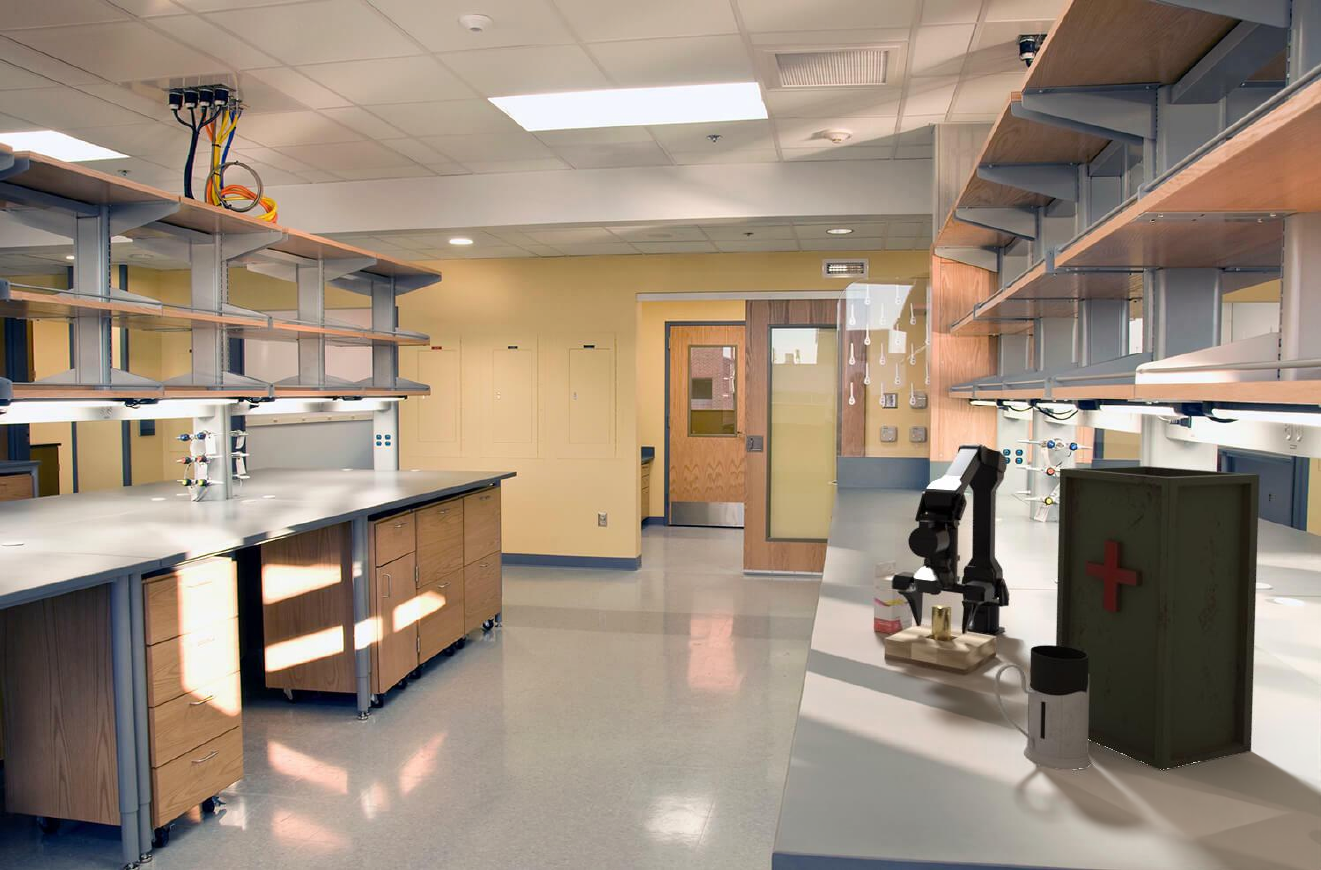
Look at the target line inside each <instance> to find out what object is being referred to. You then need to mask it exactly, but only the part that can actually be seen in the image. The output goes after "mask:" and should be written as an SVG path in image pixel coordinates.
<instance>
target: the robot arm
mask: <svg viewBox="0 0 1321 870" xmlns="http://www.w3.org/2000/svg"><path fill="white" fill-rule="evenodd" d="M1007 461H1008V460H1007V458H1006V456H1005V455H1004V454H1003V453H1002V452H1001V451H1000V450H995V449H993V448H992V449H991V448H989V447H987V446H986V445H983V444H979V443H978V444H975V443H963V444H960V445H959V446H958V450H957V454H956V456H955V457H954V459H953V461H952V462H951V464H950V465H949V467H948V469H947V470H946V472H945V473H944V475H943V476H942V478H939V479H936V480H933V481H931V483H930V484H929V485H928V486H927V487H926V488H925V490H924V491H923V492H922V494H921V497H920V500H919V505H918V508H917V511H916V515H915V518H914V519H915V520H914V521H915V522H918V527H916V528H914V529H913V530H912V531H911V532H910V535H909V537H908V539H907V540H908V541H907V542H908V546H909V550H911V552H912V554H914V555H915V556H917V557H920V558H924V559H923V564H922V567H920V568H919V569H918V570H917V571H916V572H909V571H903V572H899V573H895V574H896V575H895V576H894V577H893V578H892V589H896V590H899V591H898V593H899V594H902V595H903V596H904V597H905V598H906V599H907V601H908V603H909V605H910V608H911V610H912V617H913V619H914V622H915V625H917V626H921V624H922V619H923V603H924V601H923V597H924V594H929V595H931V596H938V595H940V594H941V593H942V592H946V593H947V592H949V593H954V594H960V595H962V600H961V605H962V610H963V611H962V620H961V631H962V634H966V632H973V633H979V634H985V635H991V636H996V635H998V634H1000V633H1001V632H1003V631H1005V629H1006V627H1004V626H1000V613H1001V611H1000V610H1001V609H1000V607H1001V608H1002V607H1009V606H1010V592H1009V590H1008V585H1007V583H1006V581H1005V580H1006V579H1004V577H1003V576H1004V573H1003V568H1002V566H1001V565H1000V563H999V561H998V560H997V558H996V506H997V505H996V501H997V497H996V493H997V492H996V491H997V490H998V488H999V487H1000V485H1001V484H1002V482H1003V481H1004V479H1005V472H1006V470H1007V467H1008V466H1007V465H1008V462H1007ZM968 486H969V487H970V489H971V491H972V539H971V540H972V547H971V548H972V549H971V551H972V553H971V554H972V555H971V559H970V560H969V562H968V563H967V565H965V566H964V568H963V575H962V578H961V581H960V575H958V570H959V569H958V566H959V565H958V563H959V562H960V561H961V555H959V526H960V525H961V523H960V521H961V520H962V518H963V516H964V513H965V510H966V509H967V508H966V507H967V502H968V501H967V499H966V495H965V491H966V490H967V488H968ZM958 582H959V583H958ZM960 582H961V583H960Z"/></svg>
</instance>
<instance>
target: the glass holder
mask: <svg viewBox="0 0 1321 870" xmlns="http://www.w3.org/2000/svg"><path fill="white" fill-rule="evenodd" d="M1029 660H1030V661H1029V662H1030V663H1029V667H1030V670H1029V683H1028V690H1027V683H1026V682H1027V680H1026V675H1025V671H1024V670H1023V669H1022V668H1021V667H1020V666H1019V665H1018V664H1015V663H1006V664H1004V665H1002V666H1001V667H1000V668H998V670H997V672H996V673H995V679H994V692H995V698H996V702H997V705H998V706H999V709H1000V712H1001V713H1002V715H1003V717H1004V718H1005V719H1006V720H1007V721H1008V722H1009V723H1010V724H1011V725H1012V726H1013V727H1014V728H1016V729H1017V730H1018V731H1019V732H1020V733H1022V735H1023V736H1025V737H1026V739H1027V742H1026V747H1025V748H1024V750H1023V756H1024V757H1025V758H1026V759H1028V760H1029V761H1031V762H1032V761H1033V762H1032V763H1034V762H1035V763H1034V764H1037V763H1038V764H1037V765H1039V764H1040V766H1042V765H1043V767H1046V768H1050V769H1055V768H1059V769H1058V770H1062V769H1079V768H1085V769H1087V768H1089V767H1090V766H1091V765H1092V759H1091V757H1090V755H1089V740H1088V724H1089V681H1090V680H1089V674H1088V663H1089V655H1088V654H1087V653H1086V652H1084V651H1081V650H1078V649H1074V648H1070V647H1064V646H1056V645H1053V644H1052V645H1048V644H1045V645H1037V646H1036V645H1035V646H1033V647H1031V648H1030V659H1029ZM1012 667H1013V668H1015V669H1017V671H1018V672H1019V674H1020V680H1021V681H1020V682H1021V684H1020V686H1021V689H1022V691H1023V692H1024V693H1026V694H1028V700H1027V701H1028V702H1027V703H1028V704H1027V732H1026V731H1025V730H1024V729H1022V727H1020V726H1019V725H1017V723H1016V722H1015V721H1013V719H1011V717H1010V716H1009V715H1008V713H1007V711H1006V709H1005V707H1004V705H1003V702H1002V698H1001V695H1000V694H1001V692H1000V679H1001V676H1002V673H1003V672H1004V671H1005V670H1007V669H1008V668H1012ZM1090 764H1091V765H1090ZM1089 765H1090V766H1089ZM1088 766H1089V767H1088ZM1086 767H1087V768H1086Z"/></svg>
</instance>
